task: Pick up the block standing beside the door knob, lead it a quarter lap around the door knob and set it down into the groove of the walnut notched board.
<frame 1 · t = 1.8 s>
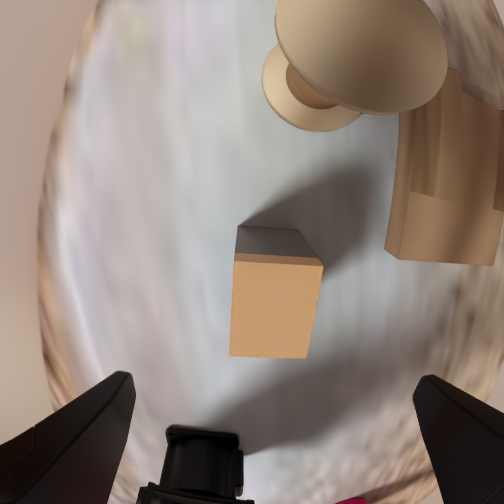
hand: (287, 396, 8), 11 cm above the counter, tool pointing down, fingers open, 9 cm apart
block: (265, 264, 18), on the counter
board: (449, 175, 16), on the counter
door knob: (315, 82, 15), on the counter
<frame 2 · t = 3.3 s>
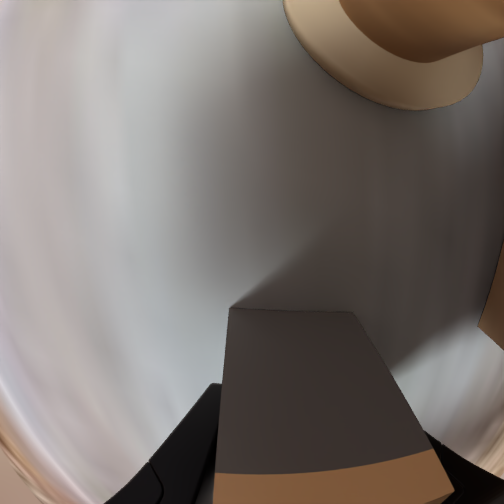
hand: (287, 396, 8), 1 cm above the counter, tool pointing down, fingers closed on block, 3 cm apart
block: (283, 373, 9), on the counter, touching gripper
door knob: (388, 14, 5), on the counter
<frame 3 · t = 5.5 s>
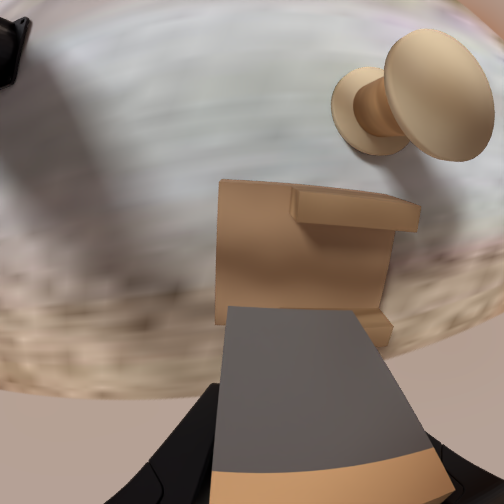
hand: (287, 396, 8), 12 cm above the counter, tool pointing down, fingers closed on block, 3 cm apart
block: (282, 371, 9), point 11 cm above the counter, touching gripper
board: (302, 253, 20), on the counter
door knob: (373, 111, 17), on the counter
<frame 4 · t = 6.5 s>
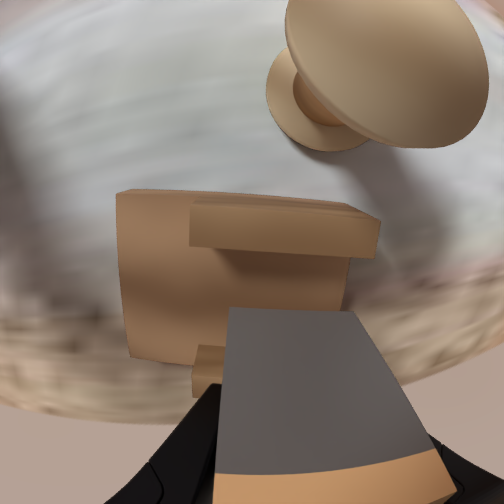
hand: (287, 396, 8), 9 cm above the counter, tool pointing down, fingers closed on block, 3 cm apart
block: (283, 372, 9), point 8 cm above the counter, touching gripper
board: (231, 278, 16), on the counter
door knob: (325, 94, 13), on the counter
when the fingers open (4 cm above the counter, at t = 7.5 s): block drops 1 cm, resting on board.
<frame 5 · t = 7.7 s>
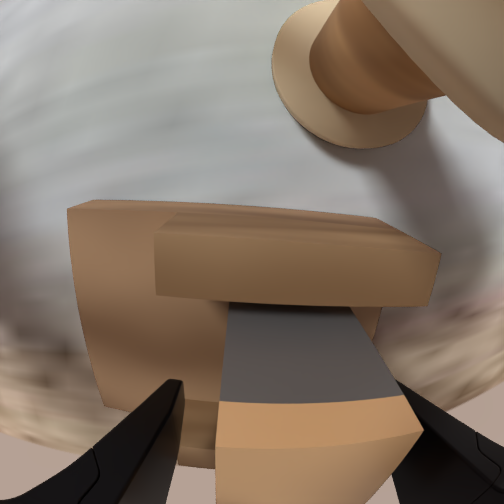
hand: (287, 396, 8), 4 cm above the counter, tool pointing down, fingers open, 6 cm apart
block: (278, 345, 10), point 2 cm above the counter, touching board
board: (225, 316, 12), on the counter
door knob: (351, 72, 9), on the counter
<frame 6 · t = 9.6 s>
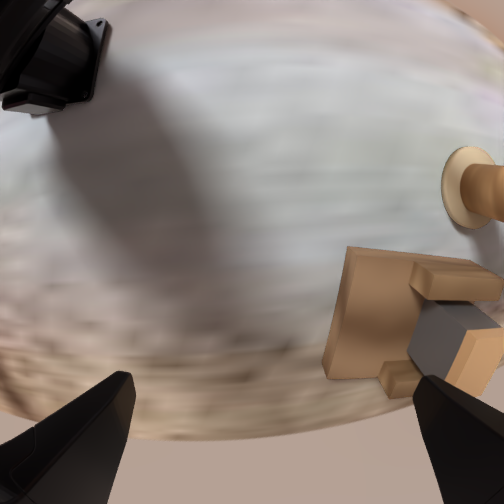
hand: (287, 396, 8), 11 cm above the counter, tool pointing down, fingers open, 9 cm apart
block: (434, 323, 18), point 2 cm above the counter, touching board
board: (402, 312, 20), on the counter
door knob: (470, 187, 17), on the counter
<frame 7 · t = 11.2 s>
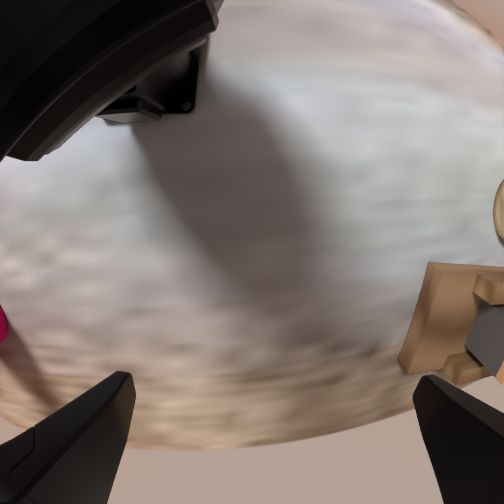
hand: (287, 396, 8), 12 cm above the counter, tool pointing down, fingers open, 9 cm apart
block: (485, 321, 19), point 2 cm above the counter, touching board
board: (459, 312, 21), on the counter
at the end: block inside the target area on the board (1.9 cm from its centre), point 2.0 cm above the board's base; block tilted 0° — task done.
